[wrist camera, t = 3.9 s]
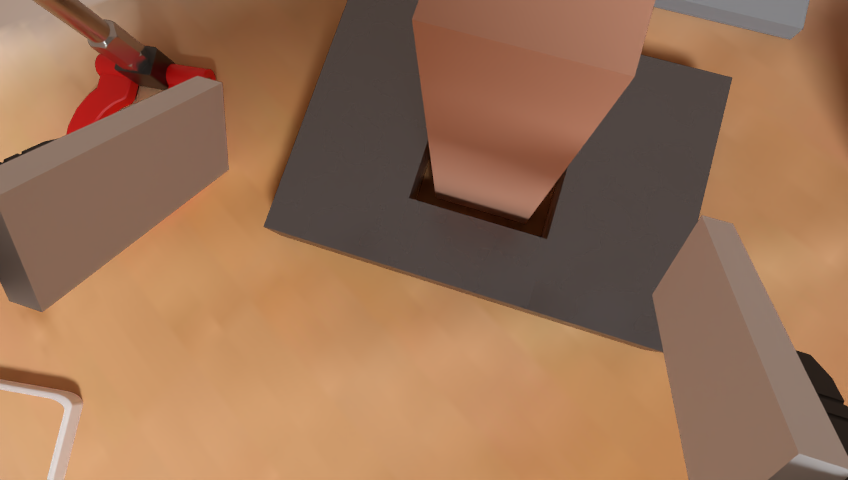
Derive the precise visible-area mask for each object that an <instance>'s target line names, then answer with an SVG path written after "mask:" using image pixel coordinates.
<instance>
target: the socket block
mask: <svg viewBox="0 0 848 480" xmlns="http://www.w3.org/2000/svg"><path fill="white" fill-rule="evenodd" d="M418 1H419V0H348V1H347V4H346V6H345V9H344V12H343V14H342V17H341V20H340V22H339V25H338V28H337V30H336V33H335V36H334V39H333V41H332V44H331V47H330V49H329V52H328V55H327V57H326V60H325V63H324V65H323V68H322V71H321V74H320V76H319V79H318V82H317V84H316V87H315V90H314V92H313V95H312V98H311V100H310V103H309V106H308V109H307V111H306V114H305V117H304V119H303V122H302V125H301V127H300V130H299V133H298V135H297V138H296V141H295V143H294V146H293V149H292V152H291V154H290V157H289V160H288V162H287V165H286V168H285V170H284V173H283V176H282V178H281V181H280V184H279V187H278V189H277V192H276V195H275V197H274V200H273V203H272V205H271V208H270V211H269V213H268V216H267V219H266V221H265V224H264V227H265V228H267V229H269V230H271V231H273V232H275V233H277V234H279V235H282V236H285V237H288V238H291V239H294V240H297V241H301V242H304V243H307V244H310V245H313V246H317V247H320V248H323V249H326V250H329V251H332V252H336V253H339V254H342V255H345V256H348V257H351V258H355V259H358V260H361V261H364V262H367V263H371V264H374V265H377V266H380V267H383V268H386V269H390V270H393V271H396V272H399V273H402V274H405V275H409V276H412V277H415V278H418V279H421V280H424V281H428V282H431V283H434V284H437V285H440V286H444V287H447V288H450V289H453V290H456V291H459V292H463V293H466V294H469V295H472V296H475V297H478V298H482V299H485V300H488V301H491V302H494V303H498V304H501V305H504V306H507V307H510V308H513V309H517V310H520V311H523V312H526V313H529V314H532V315H536V316H539V317H542V318H545V319H548V320H552V321H555V322H558V323H561V324H564V325H567V326H571V327H574V328H577V329H580V330H583V331H586V332H590V333H593V334H596V335H599V336H602V337H606V338H609V339H612V340H615V341H618V342H621V343H625V344H628V345H631V346H634V347H637V348H640V349H644V350H649V351H656V352H663V347H662V342H661V337H660V332H659V327H658V322H657V317H656V312H655V307H654V302H653V297H652V294H653V292H654V291H655V289H656V288H657V286H658V284H659V283H660V281H661V280H662V278H663V276H664V275H665V273H666V272H667V270H668V268H669V267H670V265H671V264H672V262H673V260H674V259H675V257H676V256H677V254H678V252H679V251H680V249H681V248H682V246H683V244H684V243H685V241H686V240H687V238H688V236H689V235H690V233H691V232H692V230H693V228H694V227H695V225H696V224H697V222H698V218H699V214H700V210H701V205H702V201H703V197H704V193H705V189H706V185H707V180H708V176H709V172H710V168H711V164H712V160H713V156H714V151H715V147H716V143H717V139H718V135H719V131H720V127H721V122H722V118H723V114H724V110H725V106H726V102H727V97H728V93H729V89H730V85H731V81H732V77H728V76H724V75H720V74H716V73H712V72H708V71H704V70H700V69H696V68H692V67H688V66H684V65H680V64H676V63H672V62H668V61H664V60H660V59H656V58H652V57H648V56H645V55H640V59H639V63H638V66H637V70H636V74H635V77H634V78H633V80H632V81H631V82H630V84H629V85H628V86H627V88H626V89H625V90H624V92H623V93H622V94H621V96H620V97H619V98H618V100H617V101H616V102H615V104H614V105H613V106H612V108H611V109H610V111H609V112H608V113H607V115H606V116H605V117H604V119H603V120H602V121H601V123H600V124H599V125H598V127H597V128H596V129H595V131H594V132H593V133H592V135H591V136H590V137H589V139H588V140H587V141H586V143H585V144H584V145H583V147H582V148H581V149H580V151H579V152H578V153H577V155H576V156H575V157H574V159H573V160H572V162H571V163H570V164H569V166H568V167H567V168H566V170H565V171H564V172H563V174H562V175H561V176H560V178H559V179H558V180H557V183H556V187H555V190H554V194H553V197H552V201H551V204H550V208H549V211H548V215H547V218H546V222H545V225H544V229H543V232H542V235H541V237H538V236H535V235H531V234H528V233H525V232H521V231H518V230H515V229H511V228H508V227H505V226H501V225H498V224H494V223H491V222H488V221H484V220H481V219H478V218H474V217H471V216H468V215H464V214H461V213H457V212H454V211H451V210H447V209H444V208H441V207H437V206H434V205H431V204H427V203H424V202H421V201H417V200H416V198H417V195H418V192H419V189H420V186H421V183H422V180H423V177H424V174H425V171H426V168H427V165H428V162H429V159H430V150H429V143H428V135H427V128H426V120H425V113H424V105H423V98H422V90H421V83H420V76H419V68H418V61H417V53H416V46H415V38H414V31H413V24H412V18H413V15H414V12H415V9H416V6H417V4H418ZM663 353H664V352H663Z"/></svg>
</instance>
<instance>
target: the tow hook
mask: <svg viewBox="0 0 848 480" xmlns="http://www.w3.org/2000/svg"><path fill="white" fill-rule="evenodd" d="M33 1H34V2H36V3H37V4H38V5H40V6H41V7H43V8H44V9H46V10H47V11H48V12H50V13H51V14H53V15H54V16H56V17H57V18H59V19H60V20H61V21H63V22H64V23H66V24H67V25H69V26H70V27H72V28H73V29H74V30H76V31H77V32H79V33H80V34H82V35H83V36H84V37H86V38H87V39H88V43H89V45H90V46H91V47H92V48H93V49H95V50H96V51H98V52H99V53H100V54H99V55H98V56H97V58H96V61H95V67H96V71H97V73H98V74H99V75H100V79H99V83H98V87H97V88H96V89H95V90H94V91H92V92H91V93H90V94H89V95H88V96H87V97H86V98H85V100H84V101H83V102H82V103H81V104H80V105H79V107H78V108H77V109H76V111H75V113H74V115H73V118H72V120H71V122H70V124H69V126H68V130H67V134H70V133H72V132H74V131H76V130H78V129H81V128H83V127H85V126H87V125H90V124H92V123H94V122H96V121H98V120H101V119H103V118H105V117H107V116H109V115H112V114H114V113H116V112H117V111H119V110H120V109H121V108H123V107H125V106H127V105H130V104H132V102H133V101H134V100H135V96H136V93H137V89H138V85H140V86H144V87H151V88H157V89H163V90H167V89H169V88H171V87H173V86H176V85H178V84H180V83H182V82H184V81H187V80H189V79H191V78H193V77H196V76H200V77H204V78H207V79H211V80H215V81H216V77H215V74H214V72H213V71H212V70H211V69H204V68H197V67H191V66H184V65H178V64H175V63H174V62H173V61H172V60H170V59H169V58H168V57H167V56H165V55H164V54H163V53H162V52H161V51H159V50H158V49H157V48H156V47H150V46H144V45H142V44H141V43H140V42H138V41H137V40H136V39H135V38H134V37H132V36H131V35H130V34H129V33H127V32H126V31H125V30H124V29H122V28H121V27H120V26H119V25H117V24H116V23H115V22H113V21H110V20H104V19H102V18H100V17H99V16H98V15H96V14H95V13H94V12H93V11H91V10H90V9H89V8H87V7H86V6H85V5H84V4H82V3H81V2H80V1H79V0H33ZM67 134H66V135H67Z"/></svg>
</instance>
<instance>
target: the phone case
mask: <svg viewBox="0 0 848 480" xmlns="http://www.w3.org/2000/svg"><path fill="white" fill-rule="evenodd" d="M0 390H6V391H11V392H17V393H23V394H28V395H34V396H39V397H45V398H50V399H53V400H56V401H57V402H59V403H60V404H62V406H63V407H64V415H63V419H62V423H61V427H60V431H59V434H58V438H57V442H56V446H55V450H54V454H53V458H52V462H51V466H50V469H49V473H48V477H47V480H64V479H65V475H66V471H67V467H68V463H69V459H70V455H71V451H72V447H73V443H74V439H75V435H76V431H77V427H78V423H79V419H80V415H81V411H82V407H83V401H82V399H81V398H80V397H79V396H78V395H76V394H75V393H72V392H69V391H65V390H59V389H53V388H48V387H42V386H36V385H31V384H25V383H20V382H14V381H8V380H3V379H0Z"/></svg>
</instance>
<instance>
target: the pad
mask: <svg viewBox="0 0 848 480" xmlns="http://www.w3.org/2000/svg"><path fill="white" fill-rule="evenodd" d="M808 4H809V0H655V4H654V7H657V8H661V9H666V10H670V11H674V12H678V13H682V14H686V15H690V16H695V17H699V18H703V19H707V20H711V21H715V22H719V23H724V24H728V25H732V26H736V27H740V28H744V29H748V30H753V31H757V32H761V33H765V34H769V35H773V36H778V37H782V38H786V39H792V38H793V37H794V36H795V35H796V34H798V33H799V32H800V31H801V30H802V29H803V27H804V22H805V18H806V13H807V9H808Z"/></svg>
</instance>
